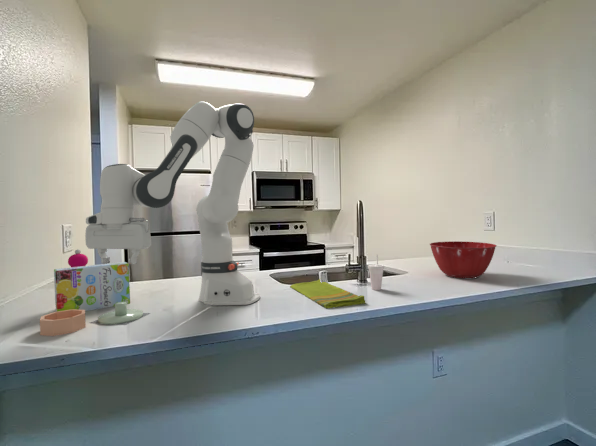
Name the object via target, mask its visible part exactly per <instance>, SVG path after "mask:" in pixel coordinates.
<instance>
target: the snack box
mask: <svg viewBox="0 0 596 446" xmlns="http://www.w3.org/2000/svg"><path fill="white" fill-rule="evenodd" d="M129 266H130V264H129V262H126V261H123V262H121V261H119V262H112V263H108V264H102V263H101V264H89V265H86V266H81V267H71V266H70V267H63V268H62V267H61V268H54V269H53V278H54V279H53V280H54V300H55V312H58V311H65V310H72V309H77V310H85V312H86V311H93V310H98V309H105V308H111V307H115V303H118V302H127V305H129V304H131V291H130V290H131V287H130V267H129Z"/></svg>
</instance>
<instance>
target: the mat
mask: <svg viewBox="0 0 596 446" xmlns="http://www.w3.org/2000/svg"><path fill="white" fill-rule="evenodd" d="M150 314H151V313H149V312H143V316H142V317H141V318H139V319H137V320H134V321H130V322H126V323H120V324H116V325H117V326H118V325H119V326H127V325H129V324H131V323H133V322H136V321H138V320H140V319H142V318H144V317H146V316H149V315H150ZM89 324H100V323H99V322H98V319H95V320H93V321H91V322H89Z"/></svg>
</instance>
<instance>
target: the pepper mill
mask: <svg viewBox="0 0 596 446" xmlns="http://www.w3.org/2000/svg"><path fill="white" fill-rule="evenodd" d="M88 262H89V258H88V256H87V255H86V254H84V253H81V249H78V248H77V249H75V251H74V254H71V255H70V256H69V257H68V259H67V264H68V265H69V267H70V268H71V267H81V266H87V264H88Z"/></svg>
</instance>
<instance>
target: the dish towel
mask: <svg viewBox="0 0 596 446" xmlns="http://www.w3.org/2000/svg"><path fill="white" fill-rule="evenodd" d="M320 279H321V278H318V280H313V281H310V282H309V281H307V282H306V281H305V282H298V283H293V284H291V285H289V288H291V289H292V290H294V291H296V292H298V293H299V292H300V293H299V294H301V295H303V296H304V295H305V297H306V298H308V299H309V300H311V301H312V302H314V301H315V304H318V305H320V306H321V307H324V308H325V309H333V307H335V308H342V307H349V306H356V305H357V306H358V305H363V304H366V300H365V295H362V294H361V295H357V294H354V293H352V292H350V291H348V290H345V289H344V288H341V287H338V286H336V285H333V284H330V282H326V281H325V282H322V283H321V282H320Z"/></svg>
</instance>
